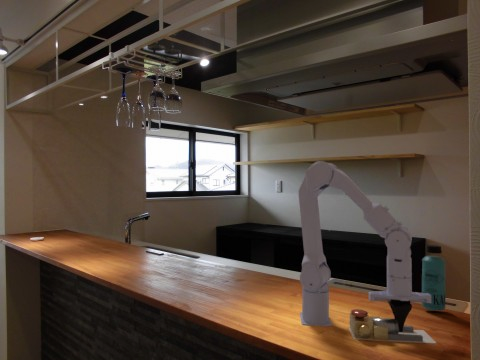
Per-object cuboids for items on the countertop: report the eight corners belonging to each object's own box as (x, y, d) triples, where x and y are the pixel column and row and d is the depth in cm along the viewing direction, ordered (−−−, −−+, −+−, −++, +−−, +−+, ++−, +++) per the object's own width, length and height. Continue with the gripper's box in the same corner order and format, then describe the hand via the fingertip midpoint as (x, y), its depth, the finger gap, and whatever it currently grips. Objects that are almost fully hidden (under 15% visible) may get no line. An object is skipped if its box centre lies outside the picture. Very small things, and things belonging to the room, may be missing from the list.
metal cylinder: (368, 328, 94) (369, 314, 93) (392, 329, 93) (393, 315, 92) (372, 338, 90) (373, 324, 89) (397, 339, 89) (399, 325, 88)
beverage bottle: (420, 307, 114) (420, 243, 114) (444, 310, 111) (444, 244, 112) (422, 314, 108) (421, 246, 108) (447, 317, 105) (447, 247, 106)
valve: (347, 325, 97) (347, 305, 97) (378, 327, 97) (378, 306, 97) (355, 340, 88) (355, 318, 88) (389, 342, 87) (389, 319, 87)
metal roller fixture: (347, 328, 97) (347, 322, 97) (423, 331, 95) (423, 325, 95) (354, 340, 89) (354, 334, 89) (436, 344, 87) (436, 338, 87)
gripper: (373, 278, 88) (373, 335, 88) (436, 280, 87) (437, 338, 87) (366, 272, 95) (366, 325, 95) (424, 273, 94) (425, 327, 94)
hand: (399, 330), depth 91 cm, fingers closed
